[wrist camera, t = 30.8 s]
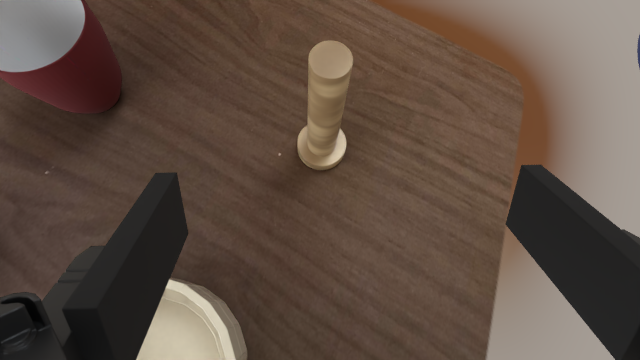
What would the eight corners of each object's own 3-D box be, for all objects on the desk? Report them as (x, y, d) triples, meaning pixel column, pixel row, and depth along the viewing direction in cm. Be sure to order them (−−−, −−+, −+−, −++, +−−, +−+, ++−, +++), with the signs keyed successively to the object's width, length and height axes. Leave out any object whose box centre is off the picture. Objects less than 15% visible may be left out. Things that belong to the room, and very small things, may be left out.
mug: (53, 42, 39) (-31, -43, 29) (137, 30, 39) (83, -57, 30) (54, 141, 36) (-38, 82, 26) (145, 125, 36) (89, 63, 27)
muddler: (343, 125, 37) (365, 27, 24) (346, 169, 36) (371, 92, 22) (297, 126, 37) (292, 27, 24) (297, 171, 36) (293, 93, 22)
